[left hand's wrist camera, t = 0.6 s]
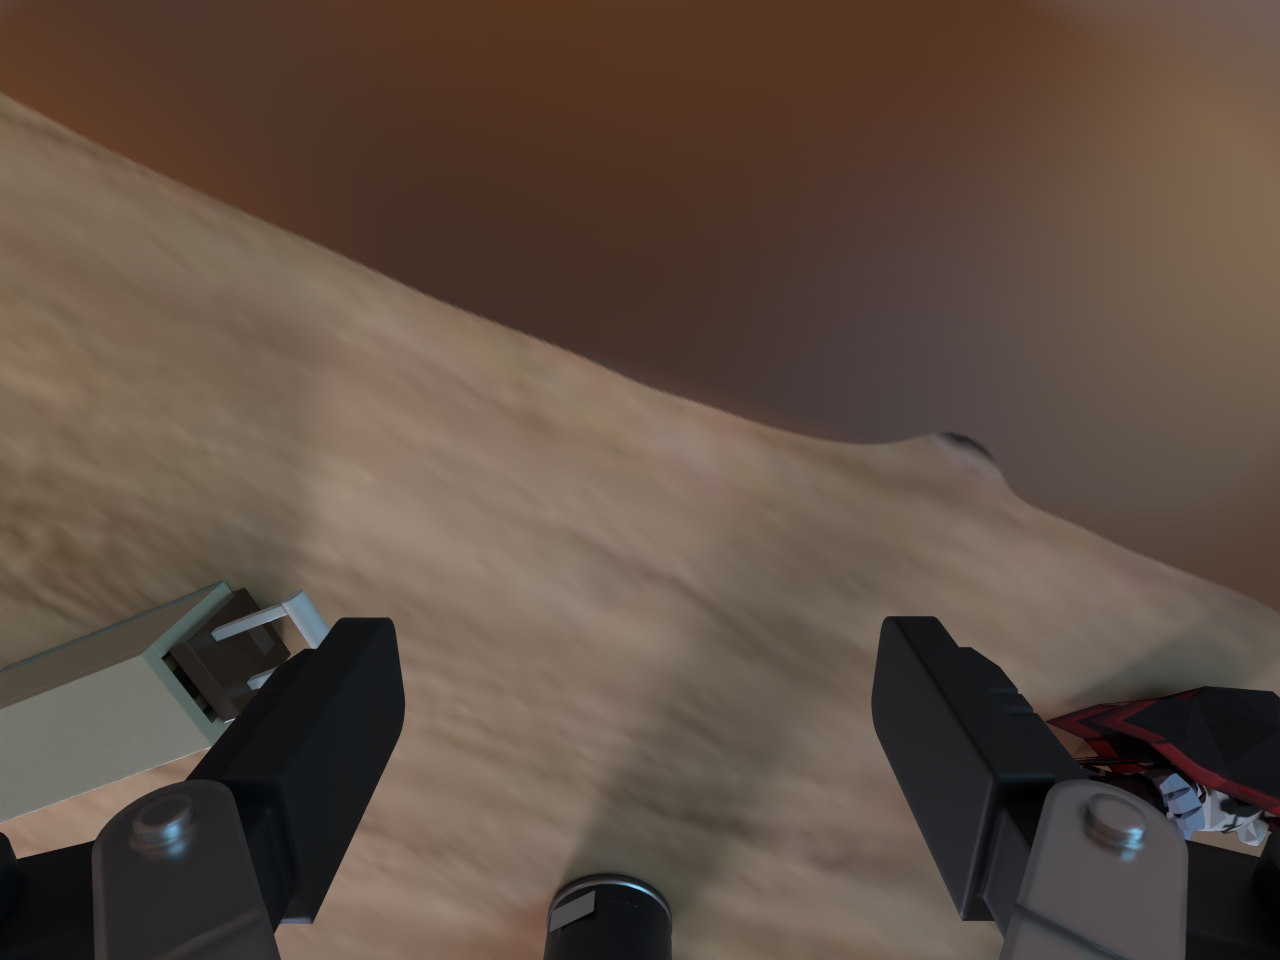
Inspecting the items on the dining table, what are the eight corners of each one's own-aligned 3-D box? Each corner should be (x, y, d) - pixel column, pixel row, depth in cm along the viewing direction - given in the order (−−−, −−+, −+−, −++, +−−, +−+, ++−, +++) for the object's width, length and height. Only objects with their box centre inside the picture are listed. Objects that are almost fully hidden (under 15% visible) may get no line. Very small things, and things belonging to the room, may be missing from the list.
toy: (1158, 916, 35) (1451, 849, 35) (1079, 722, 38) (1348, 661, 38) (1047, 869, 47) (1268, 819, 46) (993, 722, 50) (1200, 675, 50)
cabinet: (224, 580, 43) (140, 654, 36) (281, 661, 45) (212, 747, 38) (-4, 671, 45) (-126, 757, 38) (60, 744, 48) (-44, 839, 40)
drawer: (329, 553, 41) (281, 605, 36) (373, 623, 43) (334, 683, 38) (26, 673, 44) (-60, 738, 39) (79, 733, 46) (3, 804, 41)
